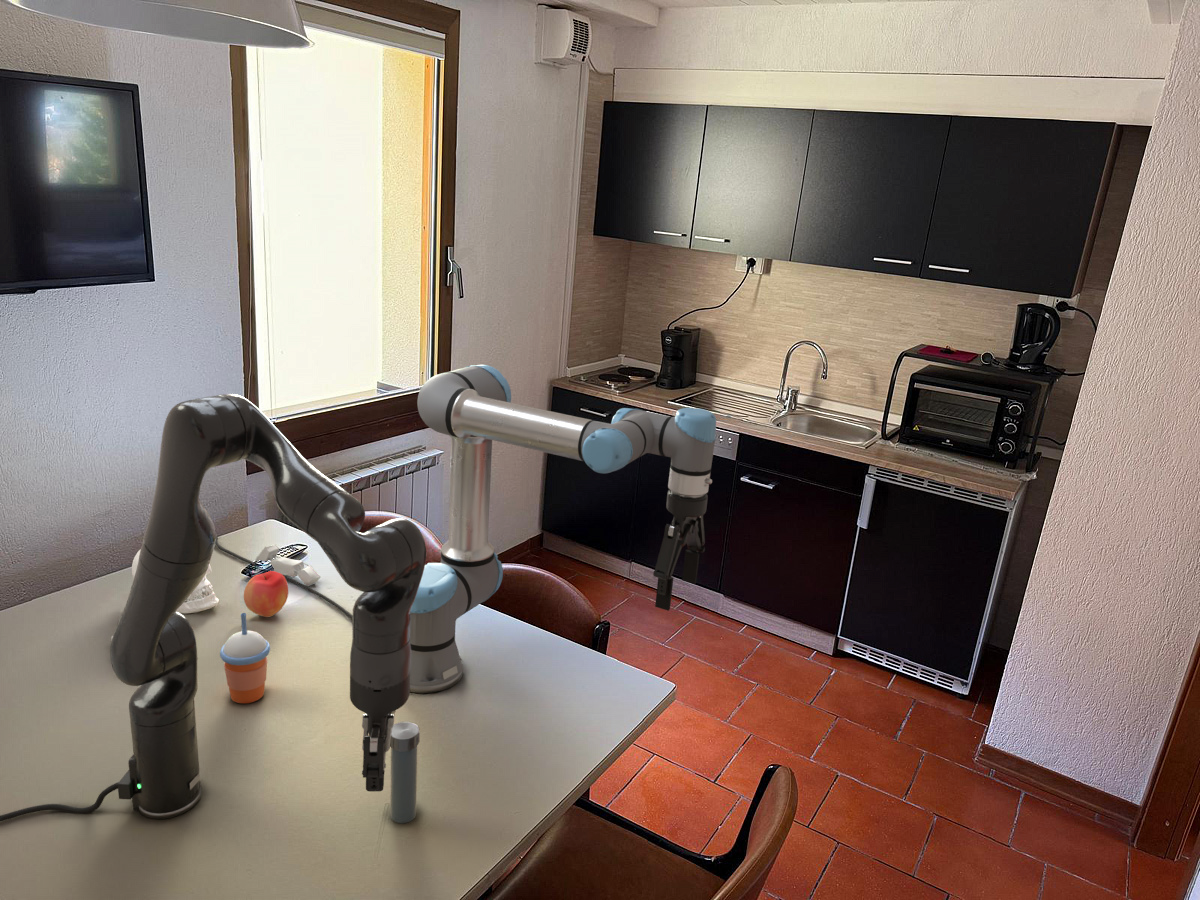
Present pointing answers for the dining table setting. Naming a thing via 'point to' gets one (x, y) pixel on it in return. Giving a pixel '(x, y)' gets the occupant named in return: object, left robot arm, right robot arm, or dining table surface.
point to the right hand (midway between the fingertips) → (676, 594)
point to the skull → (196, 604)
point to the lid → (404, 736)
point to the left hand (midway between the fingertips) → (378, 765)
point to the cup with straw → (245, 664)
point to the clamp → (288, 565)
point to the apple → (266, 593)
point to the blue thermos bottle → (403, 785)
